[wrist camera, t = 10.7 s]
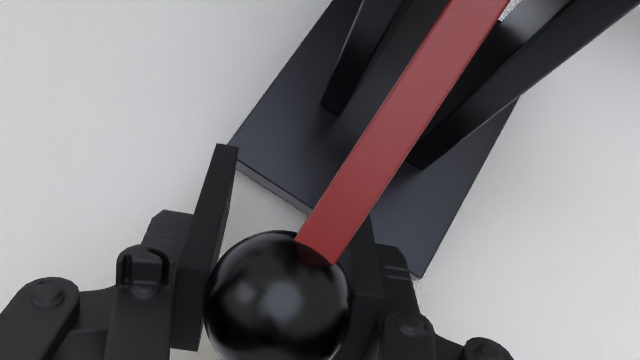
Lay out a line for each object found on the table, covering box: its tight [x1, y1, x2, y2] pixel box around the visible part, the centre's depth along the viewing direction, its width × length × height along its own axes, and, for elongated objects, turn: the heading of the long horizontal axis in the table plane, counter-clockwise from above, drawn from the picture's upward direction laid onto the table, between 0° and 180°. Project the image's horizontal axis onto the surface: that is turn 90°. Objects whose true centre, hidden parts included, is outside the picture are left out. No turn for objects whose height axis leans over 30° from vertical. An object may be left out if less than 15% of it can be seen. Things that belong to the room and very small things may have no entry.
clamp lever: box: [203, 0, 510, 360], centre depth 13 cm, size 14×4×4 cm, turn 148°
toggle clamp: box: [227, 0, 640, 281], centre depth 17 cm, size 12×9×14 cm
